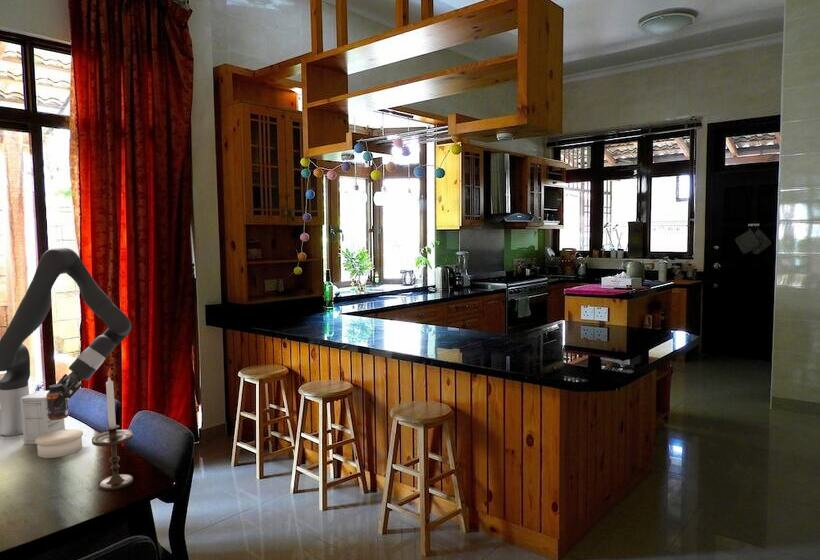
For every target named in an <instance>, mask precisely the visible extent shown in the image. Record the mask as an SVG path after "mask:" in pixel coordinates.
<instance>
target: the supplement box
mask: <svg viewBox="0 0 820 560" xmlns="http://www.w3.org/2000/svg"><path fill="white" fill-rule="evenodd" d="M49 391H50V390H37V391H35V392H32V393H29V395H27V396H24V397H21V398H20V401H21V412H22V423H23V434H22V435H23V443H24V445H34V444H35V445H37V444H36V443H35V439H36V438H37V437H39V436H41V435H43V434H46V433H49V432H53V431H58V430H65V429H66V427H65V418H63V419H59V420H50V419H49V418H48V408H47V401H46V400H47V393H48V392H49Z"/></svg>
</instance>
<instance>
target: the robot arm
mask: <svg viewBox="0 0 820 560" xmlns="http://www.w3.org/2000/svg"><path fill="white" fill-rule="evenodd" d="M39 259H40V260H39V262H38V265H37V267H36V269H35V273H34V275H33V277H32V279H31V281H30V282H31V283H30V284H29V285H28V288H27V289H26V292H25V294H24V296H23V298H22V300H21V301H20V303H19V305H18V307H17V308H16V311H15V312H14V315H13V317H12V318H11V321H10V322H9V324H8V326H7V328H6V330H5V332H4V333H3V335H2V336H1V338H0V372H5V374H4V376H3V377H2V378H1V379H0V436H5V437H6V436H7V437H10V436H12V437H13V436H18V435H24V434H23V423H22V412H21V401H20V398H21V397H24V396H27V395H29V394H30V390H29V379H30V377H31V358H30V357H31V355H30V352H29V349H28V347H27V346H26V345H25V344H23V343H24V342H25V340H27V338H28V337H30V336H31V335H32V334H33V333H34V332H35V331H36V330H37V329H38V328H39V327H40V326H41V325H42V324H43V322H44V321H45V319H46V317H47V315H48V313H49V312H50V309H51V307H52V290H53V286H54V285H55V282H56V280H58V278H59V277H60V275H62V274H67V275H68V276H69V277H70V278H71V279H72V280H74V282H75V284H76V285H77V287H78V289H79V291H80V294H81V297H82V299H83V301H84V303H85V304H86V305H87V307H88V308H89V309H90V310H91V312H93V313H94V314H95V316H97V317H98V318H100V319H101V320H102V322H103V323H104V324H105V325H106V327H107V328H106V330H105V331H104V332H103V333H102V334H100V335H98V336H97V337H96V338H94V339H93V341H91V343H90V344H89V345H88V347H86V348H85V349H84V350H83V351H81V353H80V354H79V355H78V356H77V358H76V359H75V360H74V361H73V362H72V363H71V365H69V366H68V369H69V370H70V371H71V372H70V373H69V374H66V373H65V374H63V376H62V377H61V378H60V379H59V381H57V383H56V384H63V388H62V389H63V391H62V392H61V394H60V395H61V396H60V395H59V396H58V397H57V398H56V400H55V401H54V402H53V403H52V406H54V407H56V408H58V407H59V406H60V405H61V404H62V402H63V401H64V400H65V399H67V400H68V399H71V398H72V397H73V396H74V395H75V394H76V392H77V391H78V390H79V389H81V387H82V386H83V383H82V381H83V379H84V380H85V381H88V380H90V379H91V378H92V376H93V375H94V374H95V373H96V372H97V370H98V369H99V368H100V367H101V365H103V364H104V361H105V360H106V359H107V357H108V356H110V354H111V353H112V352H113V351H114V349H115V348H116V347H117V346H119V344H120V343H122V342H123V340H124V339H126V338H127V337H128V336H129V334H130V333H131V331H132V322H131V319H130V318H129V317H128V316H127V315H126V314H125V313H124V312H123V311H122V310H121V309H120V308H118V307H117V305H116V304H115V303H114V302H113V300H111V298H110V297H109V296H108V295H107V294H106V293H105V292H104V291H103V290H102V288H101V287H100V286H99V285H98V284H97V282H96V280H95V279H94V278H93V276H92V275H91V273H90V272H89V271H88V269H87V267H86V265H85V264H84V263H83V260H81V258H80V257H79V255H78V254H77V252H76V251H75V250H73V249H72V248H69V247H56V248H50V249H48V250H46V251H45V252H44V253H43V254H42V255H41V256H40V258H39ZM46 401H47V400H46Z"/></svg>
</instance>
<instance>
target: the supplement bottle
mask: <svg viewBox="0 0 820 560" xmlns="http://www.w3.org/2000/svg"><path fill="white" fill-rule="evenodd" d="M48 387H49V389H48V391H49V392H48V393H47V408H48V418H49V419H50V420H59V419H63V418H64V419H66V418H68V417H69V415H70V414H69V402H68V398H67V399H65V400H64V401H63V402H62V404H61V405H60V406H59V407H58V408H56V407H54V406H52V403H53V402H54V401H55V400H56V398H57V397H58V396H59V395H60V394H61V392H62V391H63V389H62V388H63V384H57V383H56V384H52V385H48ZM60 396H61V395H60Z"/></svg>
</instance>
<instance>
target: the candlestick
mask: <svg viewBox="0 0 820 560" xmlns="http://www.w3.org/2000/svg"><path fill="white" fill-rule="evenodd" d="M111 371H112V369H111V367H108V371H107V381H106V382H105V389H106V390H105V391H106V392H105V393H106V403H107V404H106V405H107V421H108V422H107V423H108V426H105V428H104V429H105V430H108V431H104V432H101V433H98V434H96V435H94V436H93V437H91V444H92V445H93V446H95V447H110V449H111V457H109V459H108V460H109V463H110V464H111V466H110V470H112V475H111V476H107V477H105V478H103V479H101V480H100V481H99V482H98V489H99V490H102V491H108V492H109V491H115V490H120V489H123V488H126V487H129V486H130V485H131V484H132V483H133V482H134V477H133V475H131V474H127V473H126V474H125V473H120V474H119V468H120V467H121V466H120V465H119V461H120V459H121V457H120V456H119V455H118V454H117V451H118V450H117V446H118V445H121V444H125V443H127V442H129V441H132V439H133V438H134V436H135V433H134V431H133V430H130V429H119V428H121V425H120V424H117V423H116V422H117V421H116V419H117V418H116V407H115V406H116V404H115V390H114V389H115V388H114V381H112V379H111V374H112V373H111Z"/></svg>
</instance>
